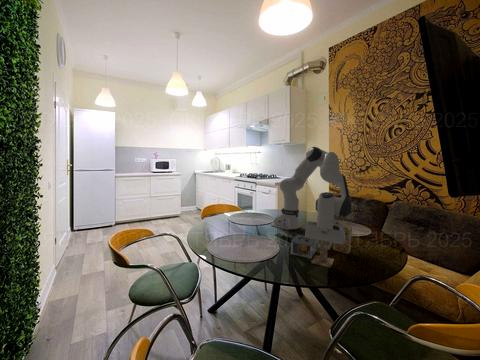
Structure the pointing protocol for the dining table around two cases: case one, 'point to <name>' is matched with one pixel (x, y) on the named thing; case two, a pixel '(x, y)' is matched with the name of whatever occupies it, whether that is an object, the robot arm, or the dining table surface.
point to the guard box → (303, 241)
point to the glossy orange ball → (303, 247)
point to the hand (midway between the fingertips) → (323, 248)
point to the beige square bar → (323, 248)
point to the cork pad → (322, 261)
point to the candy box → (347, 245)
